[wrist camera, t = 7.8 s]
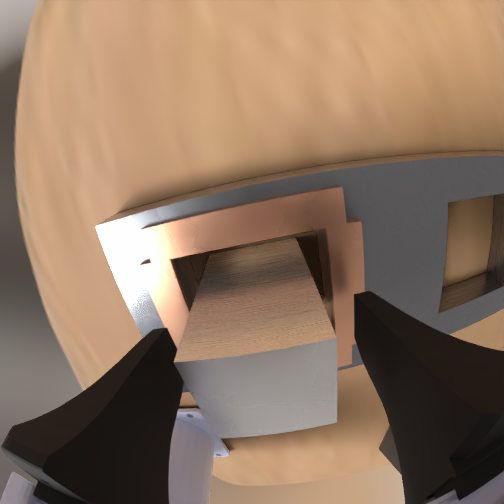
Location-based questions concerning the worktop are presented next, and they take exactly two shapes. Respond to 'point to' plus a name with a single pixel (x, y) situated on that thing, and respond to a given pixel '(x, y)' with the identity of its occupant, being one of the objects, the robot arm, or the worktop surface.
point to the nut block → (260, 344)
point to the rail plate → (322, 239)
